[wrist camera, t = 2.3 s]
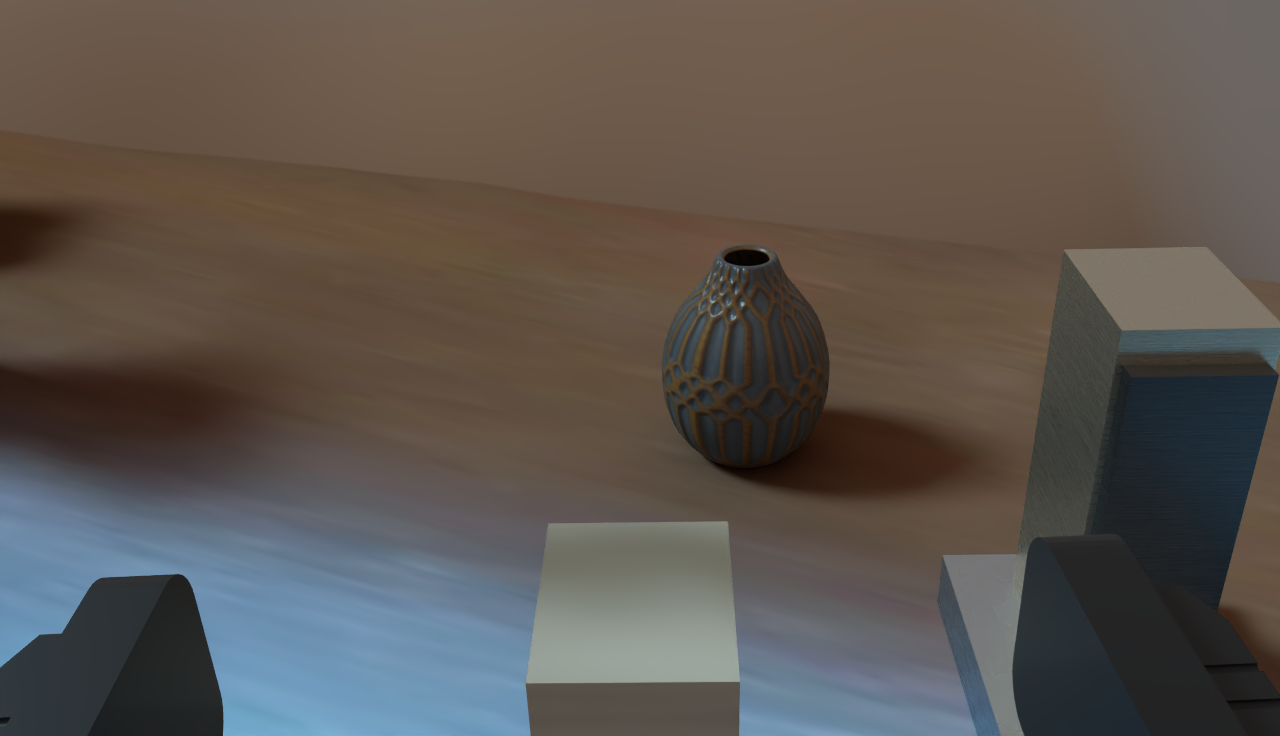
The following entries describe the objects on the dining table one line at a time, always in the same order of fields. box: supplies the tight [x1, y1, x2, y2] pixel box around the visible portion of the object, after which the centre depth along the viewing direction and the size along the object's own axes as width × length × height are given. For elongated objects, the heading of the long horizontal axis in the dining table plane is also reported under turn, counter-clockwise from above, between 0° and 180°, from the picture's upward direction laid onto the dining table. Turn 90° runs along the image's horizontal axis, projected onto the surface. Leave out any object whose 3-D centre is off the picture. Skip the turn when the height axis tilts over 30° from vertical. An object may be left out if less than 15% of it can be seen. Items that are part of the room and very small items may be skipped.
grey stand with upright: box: [937, 247, 1280, 736], centre depth 29 cm, size 22×8×14 cm, turn 179°
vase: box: [662, 244, 829, 468], centre depth 50 cm, size 7×7×9 cm
